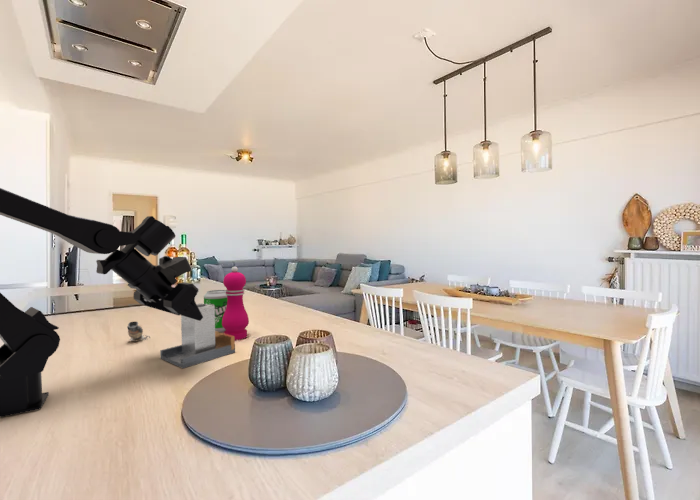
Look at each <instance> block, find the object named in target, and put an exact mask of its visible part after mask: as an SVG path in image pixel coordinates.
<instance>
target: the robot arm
mask: <svg viewBox="0 0 700 500" xmlns="http://www.w3.org/2000/svg"><path fill="white" fill-rule="evenodd" d="M0 216H3V217H6V218H8V219H11V220H12V221H13V220H14V221H16V222H20V223H22V224H24V225H28V226H31V227H33V228H37V229H39V230H42V231H45V232H47V233H50V234H53V235H55V236H57V237H59V238H60V239H62V240H64V241H65V242H66V243H68V244H70V245H72V246H74V247H76V248H77V249H80V250H82V251H84V252H85V253H89V254H96V255H97V254H98V255H108V254H109V255H108V256H107V257H106V258H104V259H97V260H96V261H95V262H96V274H100V275H107V274H108V273H109V272H110V271H112V272H114V273H115V274H116V275H117V276H119V277H120V278H121V279H122V280H123V281H124V282H126V283H127V286H128V287H129V288H130V289H133V290H135V291H134V292H133V300H134V301H136V302H137V303H138V304H140V305H143V306H145V307H149V308H153V309H156V310H157V311H158V310H159V311H162V312H166V313H169V314H172V315H176V316H181V315H182V316H185V317H189V318H192V319H195V320H198V321H201V320H202V318H203V316H202V314H201V312H200V310H199V308H198V307H197V305H196V304H197V303H196V301H195V299H196V297H197V295H198V293H199V290H200V289H199V288H198V287H197V286H196V285H194V284H193V283H189V282H178V279H176V278H178V277H180V276H182V275H184V274H185V273H189V272H191V271H192V270H193V269H192V267H191V264H190V262H189V260H188V258H187V257H185V256H175V257H170V256H169V255H163V256H162V257H160V258H159V259H158V260H159V262H158V265H157V264H156V265H154V264H153V263H151V262H150V261H149V259H147V258H146V257H150V256H151V255H152V256H155V257H157V256H158V255H159V254H160V253H161V252H162V250H164V249H166V247H167V246H168V245H169V244H170V243H171V242H172V241H173V240H175V238H176V233H175V232H174V231H173V229H172V228H171V227H170V226H169V225H166V224H165V223H163V222H162V221H160V220H158V219H156V218H155V217H154V216H153V215H148V216H146V217H145V218H144V219H143V220H142V222H141V223H139V225H137V226H136V227H135V228H134V229H133V230H132V231H120V229H119V228H118V227H117V226H115V225H113V224H111V223H107V222H102V221H98V220H95V219H90V218H85V217H80V216H79V217H78V216H75V215H71V214H68V213H64V212H62V211H60V210H56V209H54V208H52V207H49V206H48V205H44V204H41V203H40V202H36V201H35V200H32V199H29V198H26V197H24V196H21V195H19V194H17V193H13V192H11V191H9V190H6V189H4V188H1V187H0ZM122 246H123V248H122V249H119V248H120V247H122ZM177 282H178V283H177ZM176 283H177V284H176ZM175 284H176V285H175ZM173 285H174V286H173ZM58 329H60V327H59V326H57V325H55V324H53V323H51V322H49V320H48V318H47V317H46V316H45V314H44V313H43V312H42V311H41V310H39V309H37V308H35V307H33V306H30V307H29V308H28V309H27V310H26V311H25V312H24V311H23V310H21V309H20V308H18V307H17V306H16V305H14V304H13V303H12V302H11V301H10V300H9V299H8V298H7V297H6V296H5V295H3V294H2V293H1V292H0V340H1V341H2V343H3V344H2V345H1V346H0V418H3V417H8V416H14V415H17V414H23V413H29V412H33V411H37V410H41V408H42V407H43V405H44V404H45V402H46V401H47V399H48V398H49V395H50V392H49V391H46V392H43V382H42V381H43V380H42V378H43V376H42V373H43V372H44V370H45V367H46V365H47V363H48V362H47V361H48V360H49V358H50V357H51V356H53V354H55V353H56V351H57V350H58V348H59V347H60V342H61V338H60V335H59V333H58V332H57V331H55V330H58Z"/></svg>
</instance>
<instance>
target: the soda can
mask: <svg viewBox="0 0 700 500" xmlns="http://www.w3.org/2000/svg"><path fill="white" fill-rule="evenodd" d="M226 290H227V289H213V290H212V289H211V290H208V291H206V293H205V294H204V295H203V304H207V305H212V306H215V331H218V332H221V333H224V332H225V331H226V329H225V328H224V327H223V326H222V318H223V315H224V313H225V310H226V307H227V295H226Z"/></svg>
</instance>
